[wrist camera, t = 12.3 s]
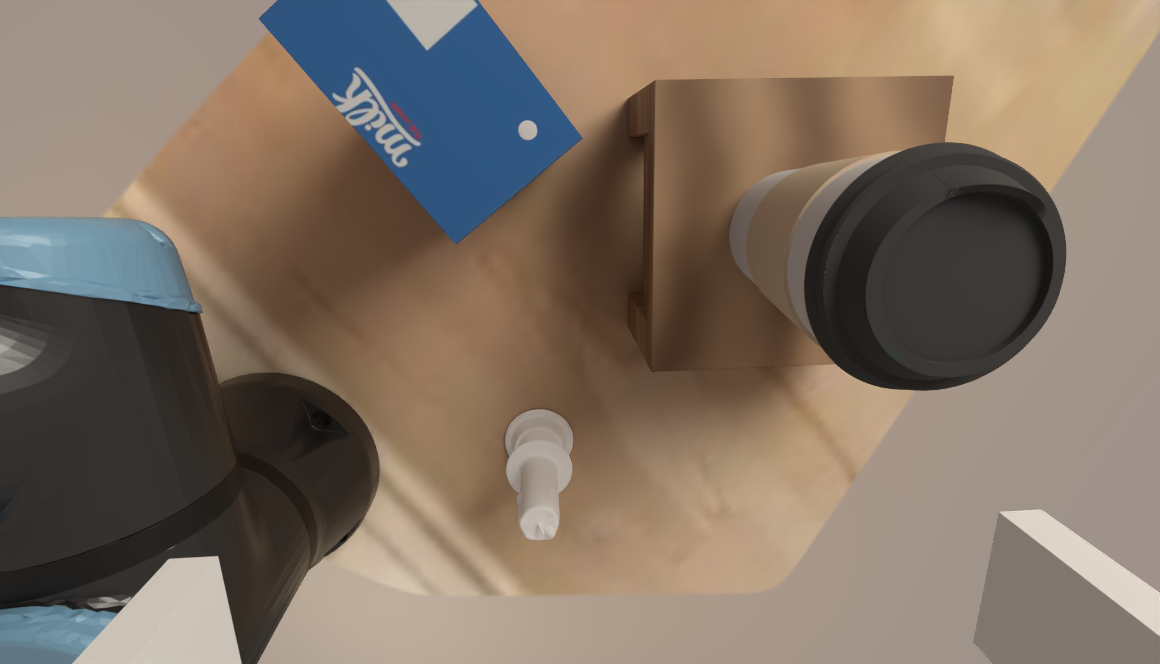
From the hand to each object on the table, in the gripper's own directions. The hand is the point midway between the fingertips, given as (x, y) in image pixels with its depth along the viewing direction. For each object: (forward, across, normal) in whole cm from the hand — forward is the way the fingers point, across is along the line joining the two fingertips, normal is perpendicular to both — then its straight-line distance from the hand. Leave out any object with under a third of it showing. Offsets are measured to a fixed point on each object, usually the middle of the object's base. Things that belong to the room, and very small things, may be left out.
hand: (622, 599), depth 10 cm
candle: (+35, -2, -14) cm, 38 cm away
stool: (+35, +13, +3) cm, 37 cm away
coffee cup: (+25, +13, +3) cm, 28 cm away
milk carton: (+35, -5, +10) cm, 37 cm away
